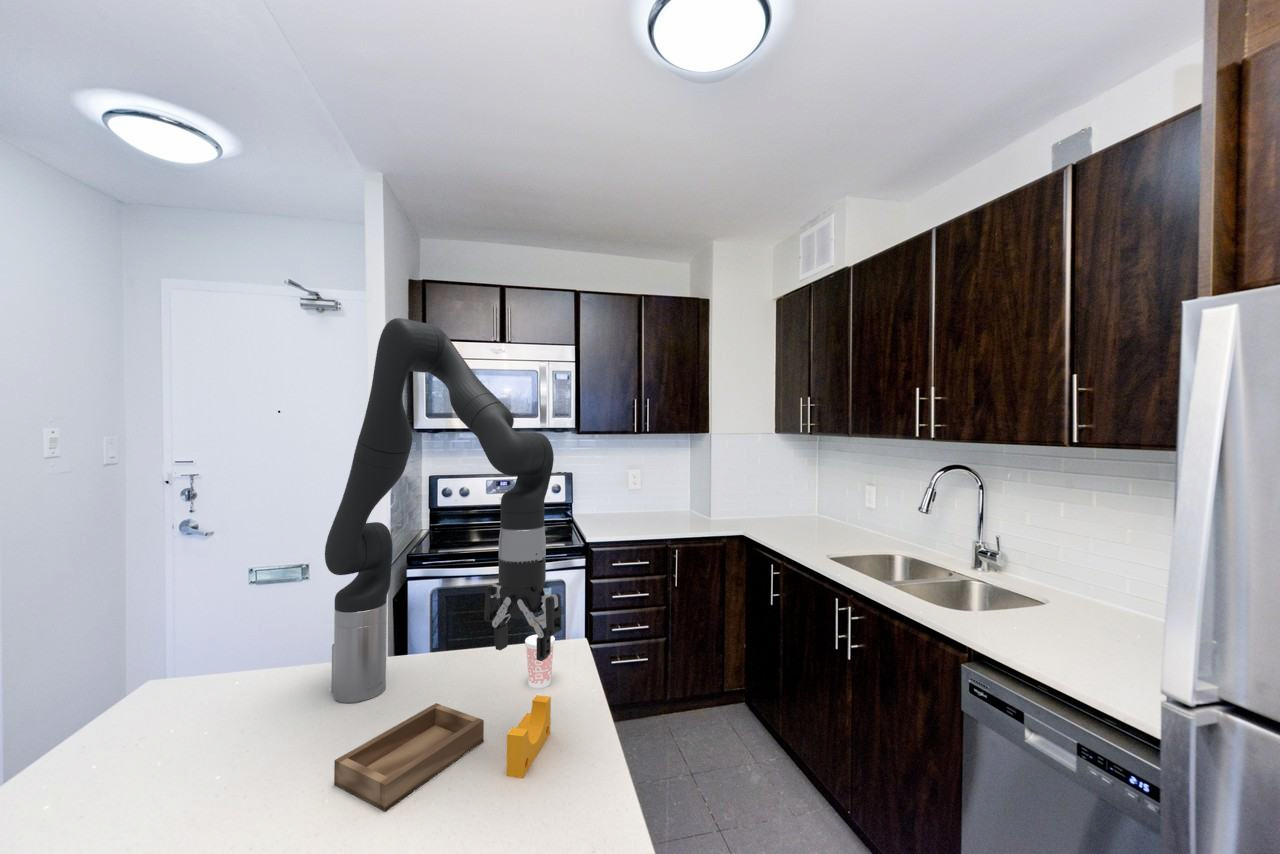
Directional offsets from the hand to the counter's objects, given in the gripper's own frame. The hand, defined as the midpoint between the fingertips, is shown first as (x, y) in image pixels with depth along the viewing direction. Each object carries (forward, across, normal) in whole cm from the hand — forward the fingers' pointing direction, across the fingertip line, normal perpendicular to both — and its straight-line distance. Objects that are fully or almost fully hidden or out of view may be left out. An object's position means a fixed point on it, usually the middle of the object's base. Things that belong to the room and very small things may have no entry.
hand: (521, 653), depth 85 cm
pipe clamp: (+16, +1, 0) cm, 16 cm away
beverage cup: (+16, -12, +20) cm, 28 cm away
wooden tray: (+16, -13, -10) cm, 23 cm away
